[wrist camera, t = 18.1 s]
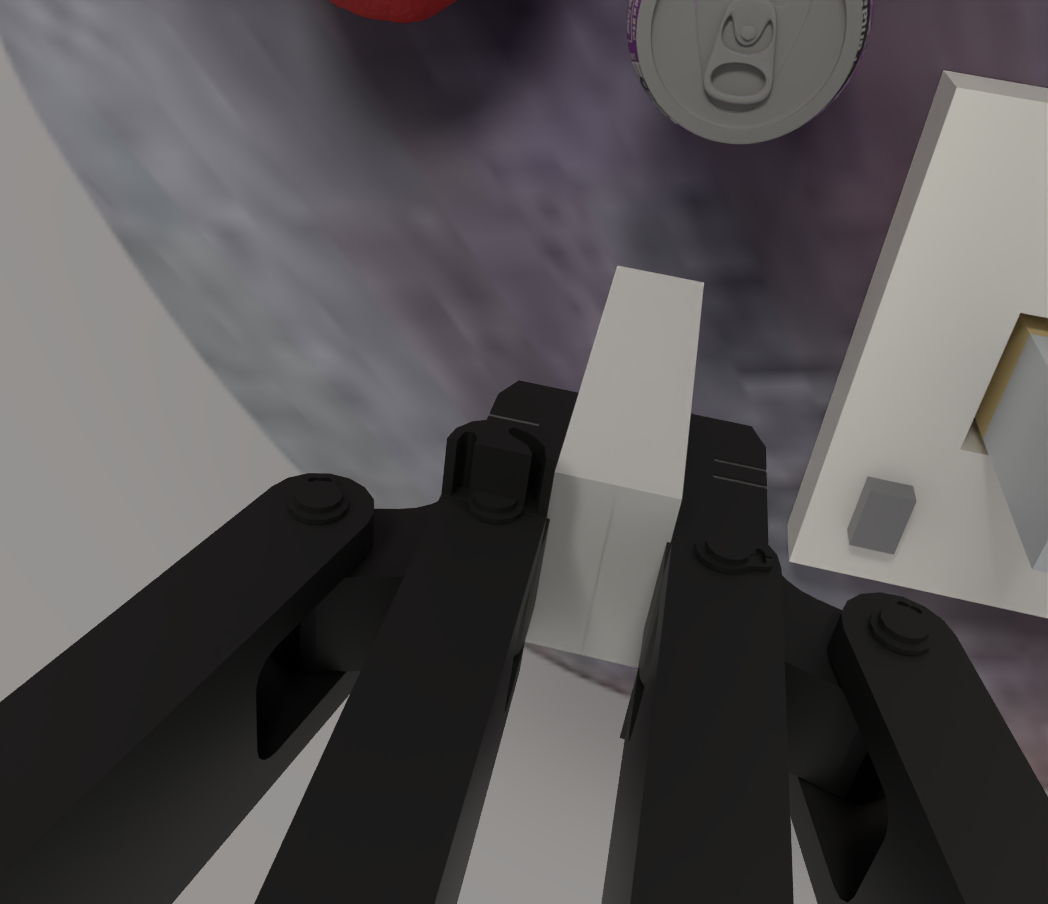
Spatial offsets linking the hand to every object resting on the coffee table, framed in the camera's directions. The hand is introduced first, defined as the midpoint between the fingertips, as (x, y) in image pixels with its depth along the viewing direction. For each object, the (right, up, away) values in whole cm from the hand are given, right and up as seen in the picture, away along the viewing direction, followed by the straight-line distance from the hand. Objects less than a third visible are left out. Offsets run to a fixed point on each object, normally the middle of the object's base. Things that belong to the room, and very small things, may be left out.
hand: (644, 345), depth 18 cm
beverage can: (+6, +16, +20) cm, 27 cm away
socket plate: (+20, +2, +26) cm, 33 cm away
